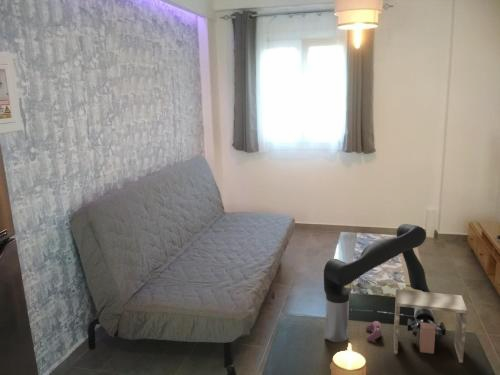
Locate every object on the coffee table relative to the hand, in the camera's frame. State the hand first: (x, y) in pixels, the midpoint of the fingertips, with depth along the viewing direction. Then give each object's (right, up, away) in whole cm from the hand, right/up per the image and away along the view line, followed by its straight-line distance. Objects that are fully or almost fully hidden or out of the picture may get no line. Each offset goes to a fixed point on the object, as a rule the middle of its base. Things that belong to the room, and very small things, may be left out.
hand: (427, 335), depth 176 cm
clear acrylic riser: (+1, -6, +2) cm, 7 cm away
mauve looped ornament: (-17, -5, +13) cm, 22 cm away
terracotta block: (+1, -6, +3) cm, 7 cm away
